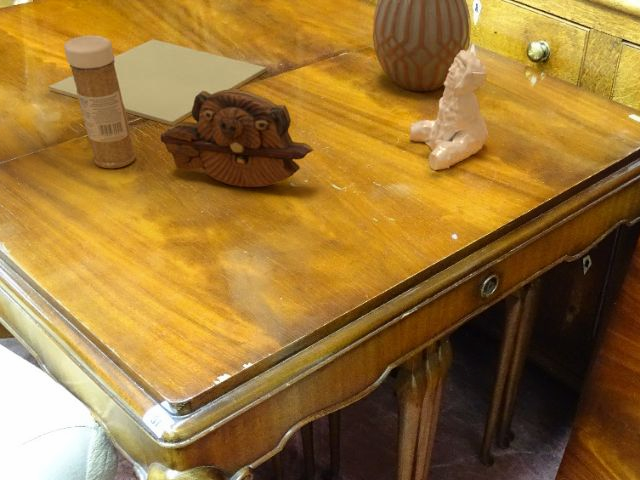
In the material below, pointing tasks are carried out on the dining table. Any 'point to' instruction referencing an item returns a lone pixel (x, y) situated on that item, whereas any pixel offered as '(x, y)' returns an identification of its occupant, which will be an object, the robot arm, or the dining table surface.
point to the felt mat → (169, 79)
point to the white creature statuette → (455, 116)
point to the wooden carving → (236, 139)
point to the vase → (420, 40)
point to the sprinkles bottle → (100, 100)
